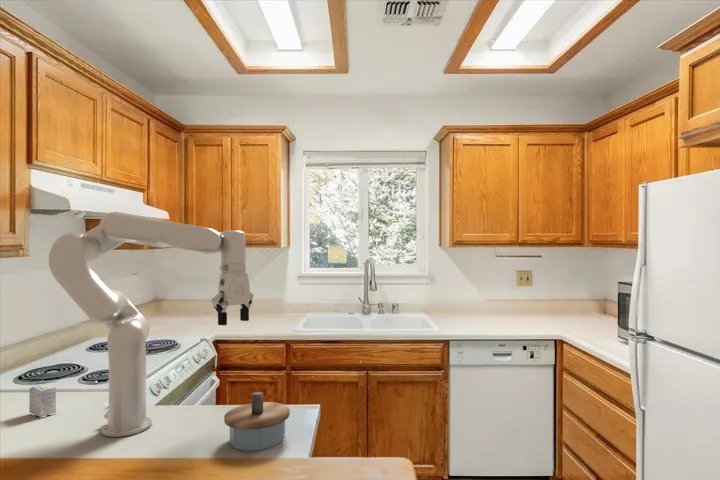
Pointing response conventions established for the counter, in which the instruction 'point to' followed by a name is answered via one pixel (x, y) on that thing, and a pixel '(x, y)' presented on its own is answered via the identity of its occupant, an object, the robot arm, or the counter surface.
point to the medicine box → (42, 400)
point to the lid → (256, 414)
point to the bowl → (257, 437)
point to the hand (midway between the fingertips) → (233, 322)
